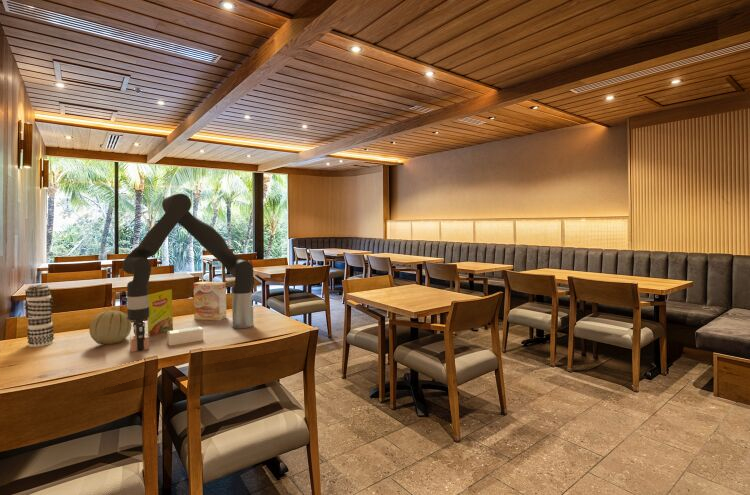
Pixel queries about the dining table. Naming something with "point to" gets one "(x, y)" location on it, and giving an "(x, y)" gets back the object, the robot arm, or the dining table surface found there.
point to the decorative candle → (39, 316)
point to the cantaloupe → (110, 327)
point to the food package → (160, 312)
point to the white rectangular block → (184, 335)
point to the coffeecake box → (209, 300)
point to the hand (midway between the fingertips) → (139, 348)
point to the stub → (134, 342)
